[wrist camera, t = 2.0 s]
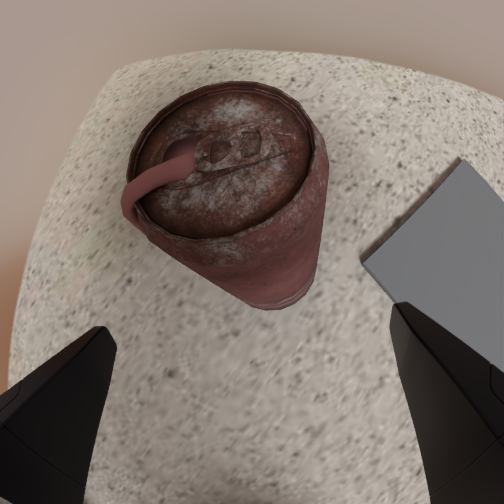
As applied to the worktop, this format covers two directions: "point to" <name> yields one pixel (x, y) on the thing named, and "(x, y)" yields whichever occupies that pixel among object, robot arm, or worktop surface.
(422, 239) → the slate mat
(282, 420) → the worktop surface
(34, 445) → the robot arm
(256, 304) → the can
